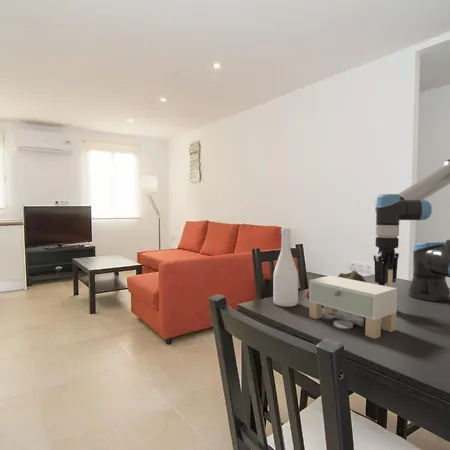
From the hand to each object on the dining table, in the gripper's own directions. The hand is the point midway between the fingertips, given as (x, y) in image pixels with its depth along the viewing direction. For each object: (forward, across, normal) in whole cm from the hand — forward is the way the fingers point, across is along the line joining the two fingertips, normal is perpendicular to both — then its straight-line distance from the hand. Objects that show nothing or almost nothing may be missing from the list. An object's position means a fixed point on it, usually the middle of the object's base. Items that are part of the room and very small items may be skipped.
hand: (385, 300), depth 122 cm
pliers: (+5, +10, -23) cm, 25 cm away
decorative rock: (+4, -12, -20) cm, 24 cm away
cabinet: (+4, +22, 0) cm, 22 cm away
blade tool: (+4, +10, 0) cm, 11 cm away
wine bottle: (+4, +24, -27) cm, 36 cm away
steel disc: (+4, +26, 0) cm, 26 cm away
